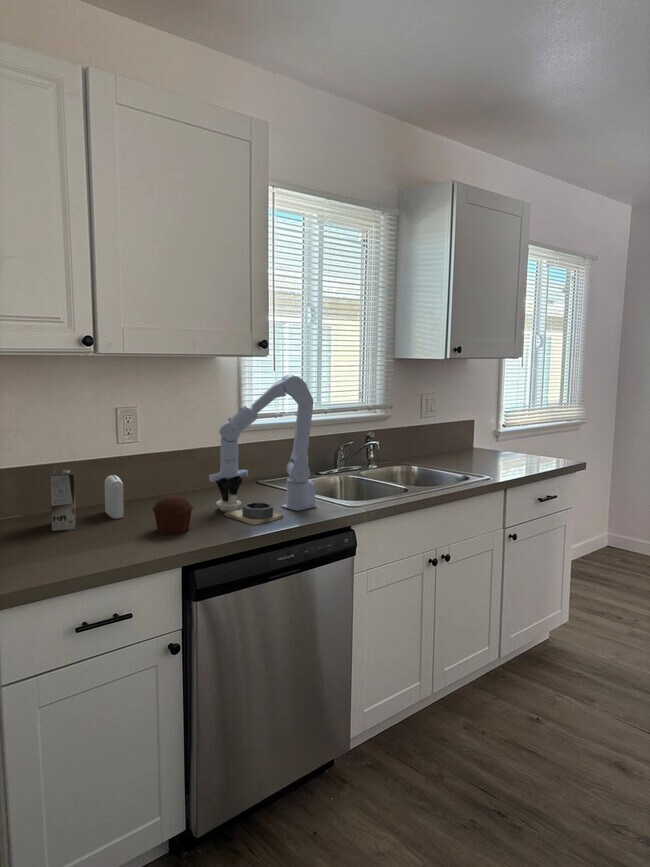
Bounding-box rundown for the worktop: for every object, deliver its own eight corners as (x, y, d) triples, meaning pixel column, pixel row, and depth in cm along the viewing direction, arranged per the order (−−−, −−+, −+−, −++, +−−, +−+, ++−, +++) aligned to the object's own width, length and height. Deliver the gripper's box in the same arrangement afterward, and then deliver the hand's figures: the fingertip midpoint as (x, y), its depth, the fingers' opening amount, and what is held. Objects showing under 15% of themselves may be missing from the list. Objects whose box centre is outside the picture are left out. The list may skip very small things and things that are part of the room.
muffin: (187, 536, 184) (187, 501, 182) (148, 535, 184) (147, 500, 182) (196, 525, 195) (196, 492, 194) (159, 524, 196) (158, 491, 194)
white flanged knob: (230, 505, 220) (230, 490, 220) (246, 509, 215) (246, 494, 214) (211, 509, 215) (211, 494, 214) (226, 513, 209) (226, 498, 209)
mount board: (253, 509, 215) (253, 506, 215) (283, 518, 206) (283, 515, 206) (224, 515, 207) (224, 512, 207) (253, 525, 197) (253, 521, 197)
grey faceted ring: (259, 509, 211) (259, 500, 211) (279, 515, 205) (279, 506, 205) (236, 514, 205) (237, 505, 204) (256, 520, 198) (256, 511, 198)
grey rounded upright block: (103, 511, 208) (103, 473, 206) (117, 510, 210) (117, 472, 208) (110, 519, 199) (109, 479, 197) (125, 518, 201) (124, 478, 199)
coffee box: (75, 529, 188) (74, 474, 185) (51, 531, 185) (49, 475, 183) (75, 521, 196) (74, 468, 194) (52, 522, 194) (50, 469, 192)
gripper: (238, 455, 221) (238, 494, 222) (203, 459, 210) (203, 501, 212) (252, 458, 216) (252, 498, 218) (216, 463, 205) (216, 505, 207)
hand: (228, 500), depth 214 cm, fingers closed on white flanged knob, 2 cm apart
